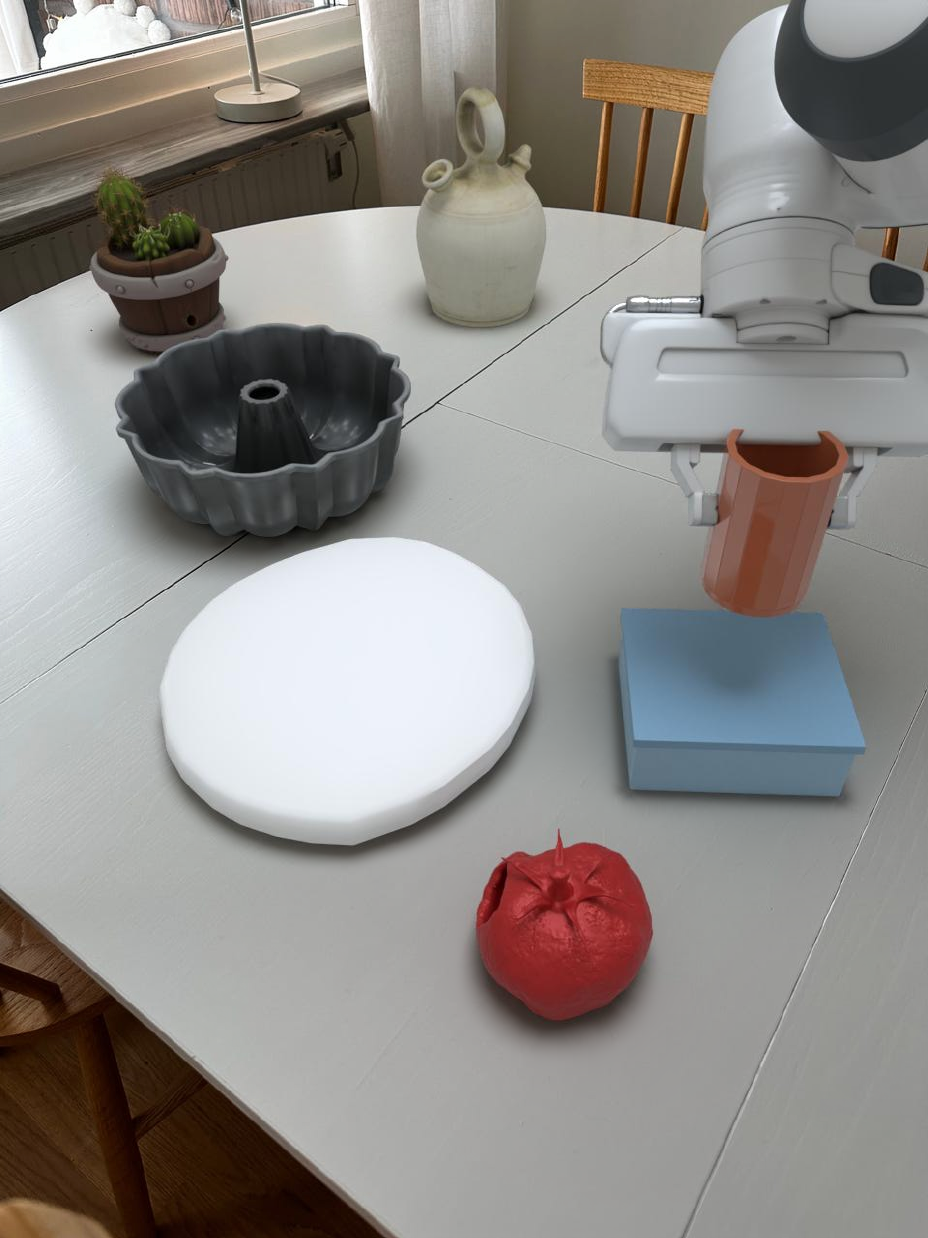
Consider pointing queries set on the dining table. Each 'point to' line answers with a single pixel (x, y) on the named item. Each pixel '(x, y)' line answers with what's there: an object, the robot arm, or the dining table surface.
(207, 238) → the flowerpot
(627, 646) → the container
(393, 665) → the plate
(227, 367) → the bundt pan
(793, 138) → the robot arm
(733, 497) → the cup
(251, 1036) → the dining table surface
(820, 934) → the dining table surface
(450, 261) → the jug
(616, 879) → the pomegranate
